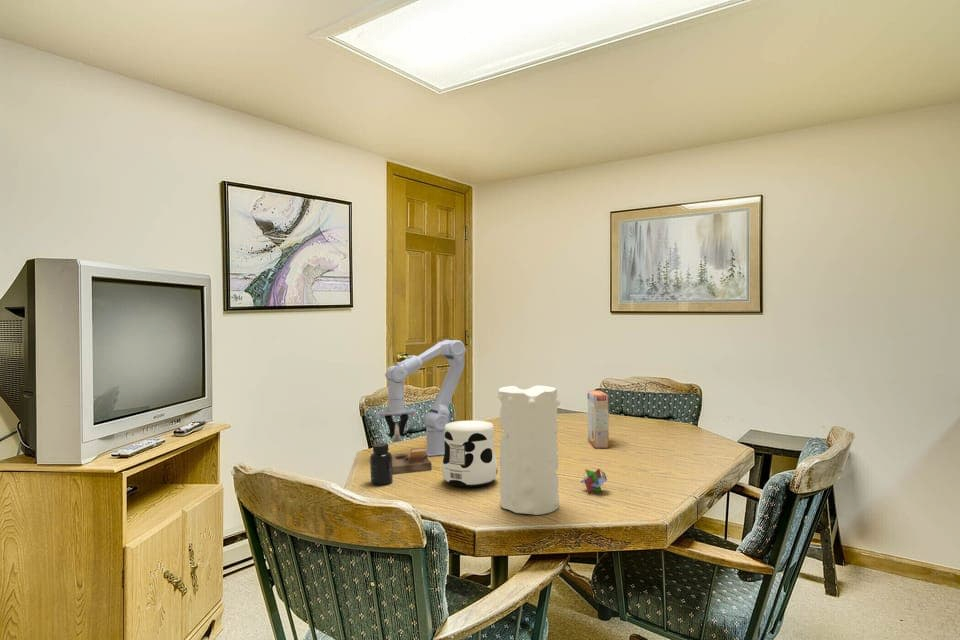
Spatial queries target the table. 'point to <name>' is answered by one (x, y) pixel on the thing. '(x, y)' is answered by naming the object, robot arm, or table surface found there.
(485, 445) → the milk container
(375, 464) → the supplement bottle
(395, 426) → the steel pin
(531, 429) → the vase
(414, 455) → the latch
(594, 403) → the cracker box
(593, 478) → the geometric puzzle
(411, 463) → the brown board with hole
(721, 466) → the table surface
